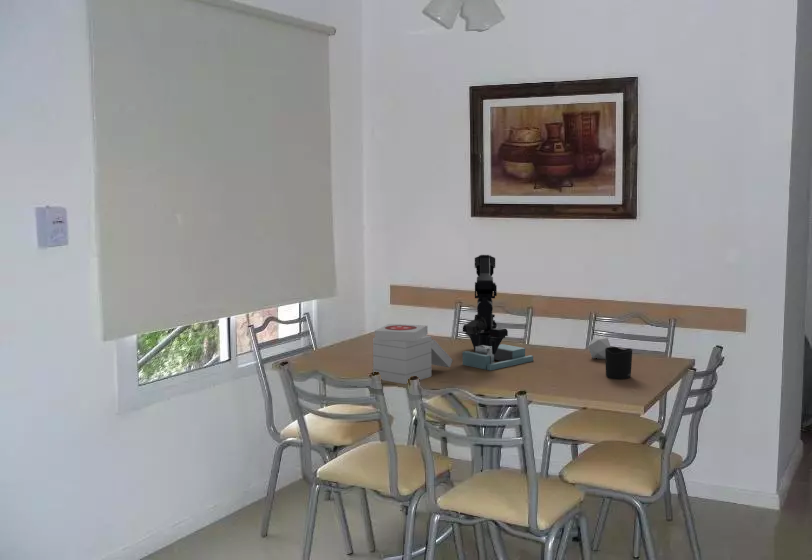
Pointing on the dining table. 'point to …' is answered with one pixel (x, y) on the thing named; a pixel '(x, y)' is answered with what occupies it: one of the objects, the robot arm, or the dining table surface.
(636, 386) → the dining table surface
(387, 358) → the pizza boxes
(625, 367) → the pen holder
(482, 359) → the vise body
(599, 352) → the die
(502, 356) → the block
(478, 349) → the steel block
